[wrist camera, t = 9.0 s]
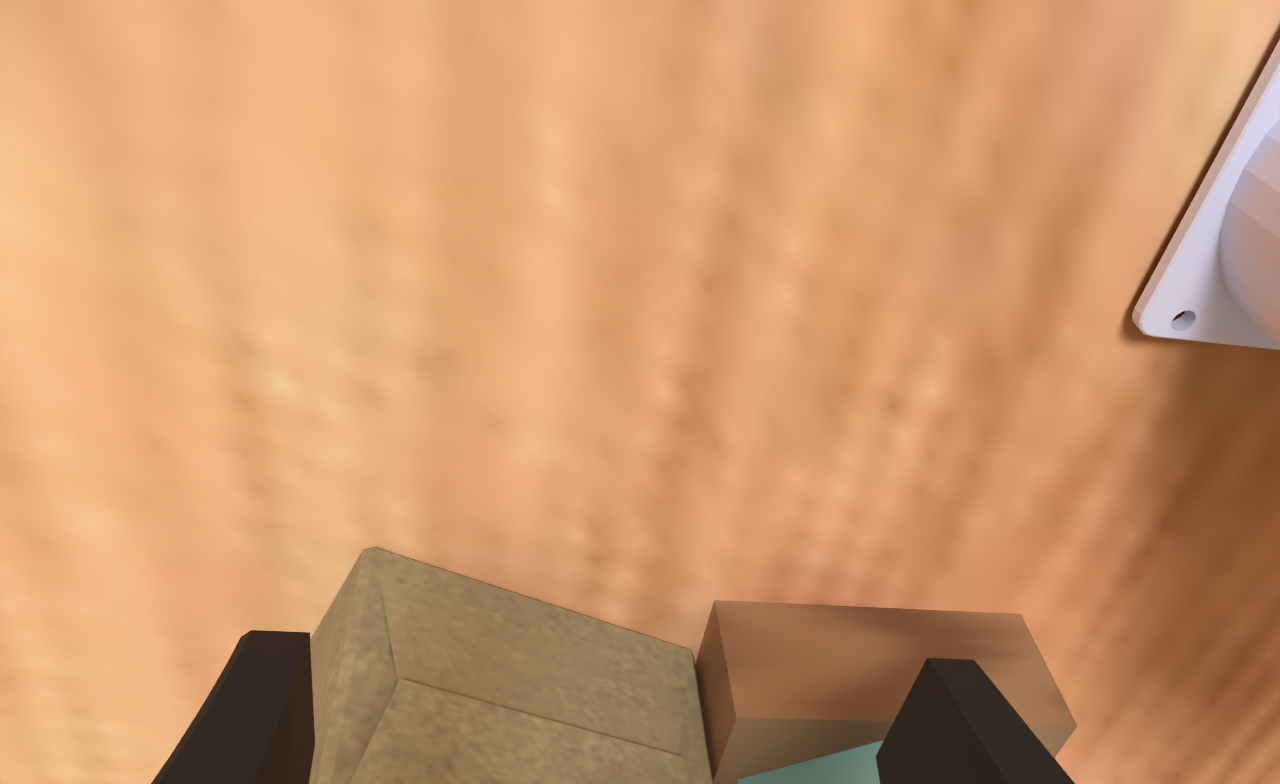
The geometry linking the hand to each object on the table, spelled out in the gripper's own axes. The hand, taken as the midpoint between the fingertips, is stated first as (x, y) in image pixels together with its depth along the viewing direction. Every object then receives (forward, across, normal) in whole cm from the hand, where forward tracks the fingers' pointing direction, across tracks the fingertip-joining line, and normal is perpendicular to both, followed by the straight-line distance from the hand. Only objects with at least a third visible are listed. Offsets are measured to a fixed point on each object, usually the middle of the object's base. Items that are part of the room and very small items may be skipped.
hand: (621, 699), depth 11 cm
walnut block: (+11, -9, +14) cm, 20 cm away
